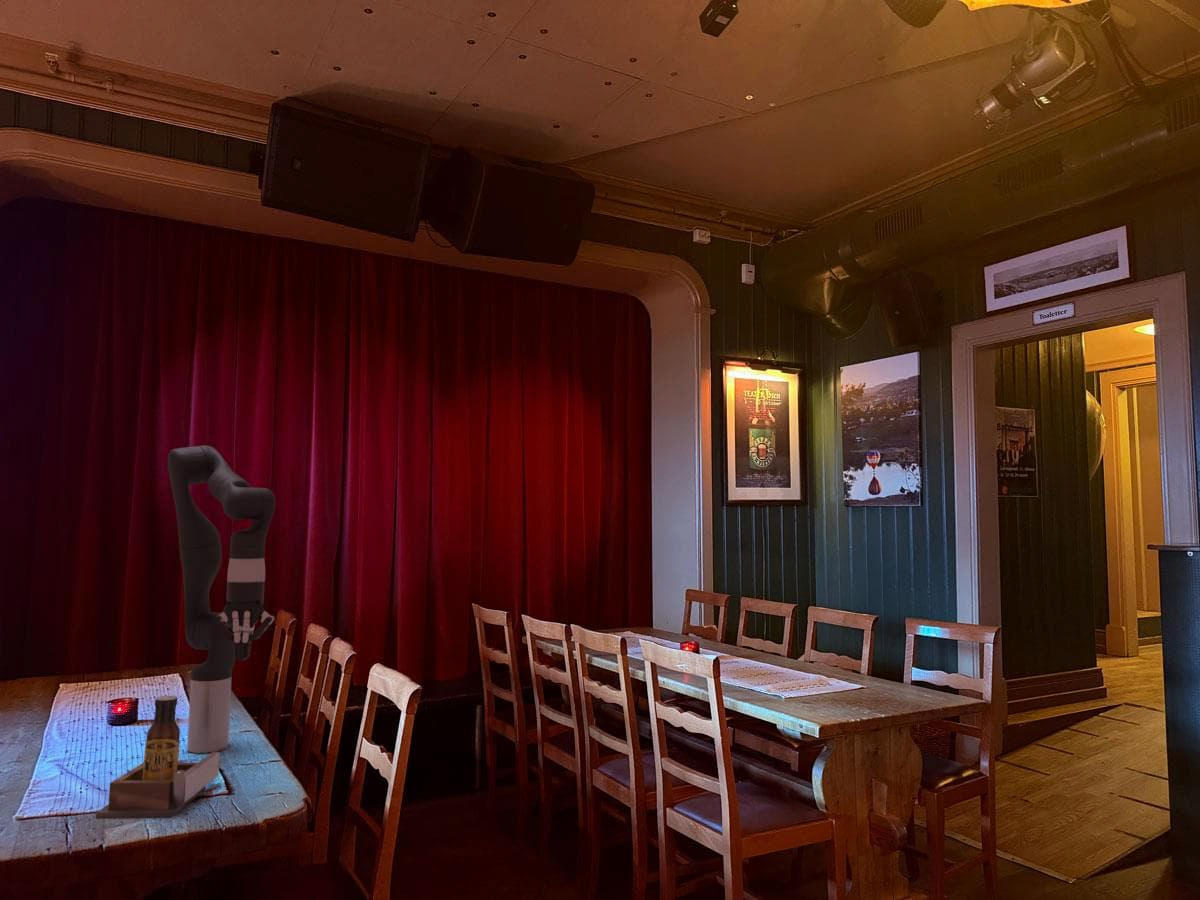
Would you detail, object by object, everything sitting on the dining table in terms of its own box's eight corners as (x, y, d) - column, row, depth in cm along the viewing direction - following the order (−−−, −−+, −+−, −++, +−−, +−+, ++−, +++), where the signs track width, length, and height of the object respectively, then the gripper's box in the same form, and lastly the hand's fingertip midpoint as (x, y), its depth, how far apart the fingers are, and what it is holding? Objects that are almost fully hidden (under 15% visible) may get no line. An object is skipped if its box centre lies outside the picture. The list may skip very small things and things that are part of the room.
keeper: (180, 807, 160) (182, 772, 160) (169, 807, 160) (171, 772, 160) (219, 775, 179) (221, 745, 179) (210, 775, 178) (211, 745, 179)
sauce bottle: (137, 804, 162) (143, 701, 164) (144, 793, 168) (150, 694, 170) (173, 801, 164) (178, 700, 166) (179, 791, 170) (184, 693, 171)
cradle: (138, 789, 173) (139, 760, 174) (205, 789, 174) (207, 760, 175) (95, 817, 158) (97, 785, 158) (170, 817, 158) (172, 785, 159)
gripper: (207, 580, 175) (203, 662, 173) (271, 580, 175) (267, 663, 174) (222, 577, 182) (218, 656, 181) (282, 578, 183) (279, 656, 182)
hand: (242, 659), depth 177 cm, fingers closed
